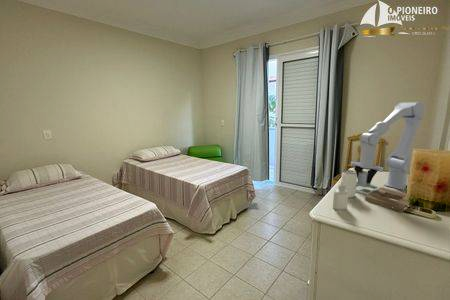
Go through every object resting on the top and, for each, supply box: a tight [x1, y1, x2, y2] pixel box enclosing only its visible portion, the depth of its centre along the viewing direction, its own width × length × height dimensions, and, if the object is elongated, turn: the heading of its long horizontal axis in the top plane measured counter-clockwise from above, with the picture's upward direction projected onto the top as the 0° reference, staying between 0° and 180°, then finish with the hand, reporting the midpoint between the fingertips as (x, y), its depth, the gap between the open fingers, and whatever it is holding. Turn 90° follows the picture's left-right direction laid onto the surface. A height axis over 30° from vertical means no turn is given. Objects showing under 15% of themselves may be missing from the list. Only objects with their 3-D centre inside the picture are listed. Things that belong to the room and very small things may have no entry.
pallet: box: [364, 186, 410, 213], centre depth 95 cm, size 18×14×2 cm
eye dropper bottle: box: [332, 181, 349, 211], centre depth 88 cm, size 4×6×12 cm
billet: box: [356, 170, 372, 188], centre depth 107 cm, size 5×4×7 cm
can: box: [340, 169, 358, 199], centre depth 101 cm, size 6×6×12 cm
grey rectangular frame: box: [355, 181, 382, 196], centre depth 108 cm, size 14×11×1 cm
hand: (364, 181), depth 108 cm, fingers closed on billet, 4 cm apart
